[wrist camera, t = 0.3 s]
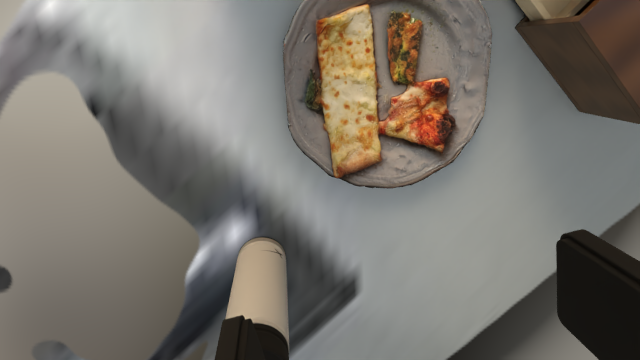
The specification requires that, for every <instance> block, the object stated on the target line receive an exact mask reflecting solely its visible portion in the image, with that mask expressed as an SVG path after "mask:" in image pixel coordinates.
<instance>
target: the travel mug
mask: <svg viewBox="0 0 640 360" xmlns="http://www.w3.org/2000/svg"><path fill="white" fill-rule="evenodd" d="M240 315H243V316H244V317H245V319H249V318H250V319H251V320H252V322H253V325H254V328H255V330H256V333H257V336H258V339H259V342H260V345H261V348H262V351H263V354H264V357H265V360H289V330H288V301H287V272H286V254H285V251H284V249H283V247H282V246H281V245H280V244H279V243H278V242H276V241H275V240H272V239H269V238H263V237H261V238H255V239H252V240H250V241H248V242H247V243H245V244H244V245H243V246H242V248H241V249H240V251H239V254H238V259H237V264H236V269H235V274H234V279H233V284H232V289H231V294H230V299H229V304H228V309H227V314H226V319H228V318H232V317H236V316H240Z"/></svg>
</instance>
